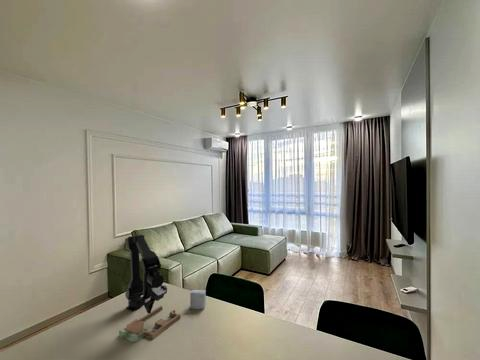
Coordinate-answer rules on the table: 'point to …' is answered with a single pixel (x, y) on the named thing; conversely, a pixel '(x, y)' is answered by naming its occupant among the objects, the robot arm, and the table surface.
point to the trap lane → (159, 325)
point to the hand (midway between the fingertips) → (149, 313)
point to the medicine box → (198, 299)
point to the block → (135, 327)
